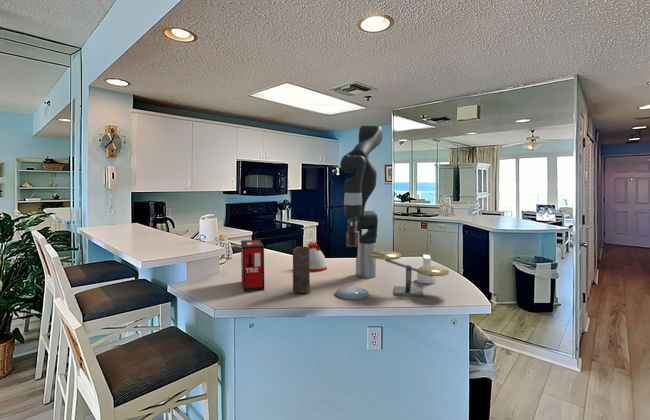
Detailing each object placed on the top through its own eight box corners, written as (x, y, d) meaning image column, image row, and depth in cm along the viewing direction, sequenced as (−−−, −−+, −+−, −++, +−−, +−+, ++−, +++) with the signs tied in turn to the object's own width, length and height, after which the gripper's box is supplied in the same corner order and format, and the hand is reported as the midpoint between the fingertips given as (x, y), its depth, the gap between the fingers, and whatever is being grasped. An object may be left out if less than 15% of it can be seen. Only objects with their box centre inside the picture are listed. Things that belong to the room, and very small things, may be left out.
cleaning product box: (241, 281, 169) (241, 240, 167) (260, 280, 171) (259, 239, 169) (243, 292, 153) (243, 246, 151) (264, 290, 155) (263, 245, 154)
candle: (303, 296, 147) (302, 249, 146) (289, 293, 151) (288, 247, 149) (313, 291, 154) (313, 246, 152) (299, 288, 158) (299, 244, 156)
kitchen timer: (312, 264, 203) (312, 239, 202) (331, 268, 195) (331, 241, 194) (296, 269, 192) (296, 242, 191) (316, 273, 184) (316, 245, 183)
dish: (328, 294, 150) (328, 291, 150) (350, 287, 160) (350, 284, 160) (353, 302, 140) (353, 299, 140) (375, 294, 150) (375, 291, 150)
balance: (369, 294, 149) (370, 256, 148) (370, 285, 162) (371, 250, 161) (450, 299, 144) (451, 259, 142) (445, 289, 156) (446, 253, 155)
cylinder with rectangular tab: (436, 284, 166) (437, 259, 165) (417, 282, 167) (417, 258, 166) (434, 278, 174) (435, 255, 173) (416, 277, 176) (416, 254, 175)
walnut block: (346, 246, 146) (346, 232, 146) (347, 244, 151) (347, 230, 151) (358, 246, 145) (358, 232, 145) (359, 244, 150) (359, 230, 150)
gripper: (346, 202, 154) (345, 240, 156) (342, 204, 140) (341, 246, 142) (363, 202, 153) (362, 241, 154) (360, 204, 139) (360, 247, 140)
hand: (352, 243), depth 148 cm, fingers closed on walnut block, 5 cm apart
